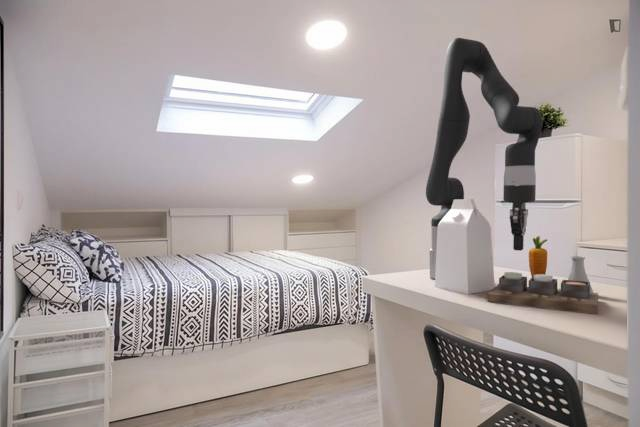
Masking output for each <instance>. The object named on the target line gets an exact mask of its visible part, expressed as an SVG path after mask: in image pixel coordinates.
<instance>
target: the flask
mask: <svg viewBox="0 0 640 427" xmlns="http://www.w3.org/2000/svg"><path fill="white" fill-rule="evenodd" d="M570 259H571V261H572V265H571V270H570V273H569V275H568V277H567V280H574V281H587V282H590V281H589V278H588V276H587V273H586V269H585V262H584V261H585V259H586V257H585V256H583V255H582V256H581V255H572V256H570ZM590 292H593V293H595V292H594V289H593V287H592V285H591V284H590Z"/></svg>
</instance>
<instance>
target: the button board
mask: <svg viewBox="0 0 640 427" xmlns="http://www.w3.org/2000/svg"><path fill="white" fill-rule="evenodd" d="M566 282H580V283H584V284H586V285H576V284H566ZM590 285H591V282H590V281H589V282H587V281H574V280H568V279H562V280H561V283H560V288H559V289H558V279H557V278H553V283H552V282H540V281H534V277H532V276H531V278H530V279H529V280H528V277H527V276H522V280H515V279H504V274H503V275H502V276H501V277H499V278H498V284H497V285H496V286H495V288H494V289H492V290H489V292H488V293H486V295H487V296H486V301H487V302H490V303H498V304H505V305H516V306H525V307H534V308H543V309H550V310H560V311H568V312H577V313H586V314H594V315H598V311H599V308H598V307H599V293H598V292H594V291H593V292H594V293H593V292H590Z"/></svg>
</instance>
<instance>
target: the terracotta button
mask: <svg viewBox="0 0 640 427" xmlns="http://www.w3.org/2000/svg"><path fill="white" fill-rule="evenodd" d="M566 284H576V285H586V284H584V283H580V282H566Z"/></svg>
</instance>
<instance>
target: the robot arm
mask: <svg viewBox="0 0 640 427" xmlns="http://www.w3.org/2000/svg"><path fill="white" fill-rule="evenodd" d="M445 53H446V54H445V59H444V69H443V70H444V72H443V73H444V74H443V88H442V90H443V91H442V96H441V97H442V98H441V103H440V104H441V105H440V106H441V107H440V112H439V117H438V121H437V122H438V123H437V131H436V139H435V144H434V145H435V146H434V151H433V156H432V160H431V161H432V162H431V165H430V170H429V174H428V178H427V181H426V182H427V183H426V187H425V196H426V197H425V198H426V200H427V202H428V203H429V204H430V205H432V206H440V211H439V212H438V213H437V214H436V215H434V216H432V217H431V220H430V222H431V223H430V224H431V248H430V249H429V279H433V280H435V272H436V249H437V228H438V224H439V222H440V221H441V220H442V218H443V217H444V216H445V215H446V214H447V213H448V211H449V210H450V209H451V207H452V204H453V201H454V199H465V189H464V185H463V182H461V180H460V179H459V178H456V177H449V175H450V170H451V166H452V164H453V161H454V159H455V157H456V156H457V154H458V152H460V150H461V148H462V147H463V146H464V144H465V141H467V140H466V139H467V136H468V132H469V126H470V117H471V116H470V109H469V106H468V104H467V101H466V98H465V96H464V92H463V88H462V85H463V84H462V83H463V73H468V74H469V73H472V74H473V75H475V76H476V77H477V78H478V79H479V80H480V82H481V84H480V91H481V95H482V97H483V98H484V100H485V101H486V103H487V104H488V105H489V106H490V108H491V109H492V110H493V113H494V114H493V115H494V118H495V120H496V123H497V126H498V128H499V129H500V130H501V131H502V132H504V133H506V134H508V135H509V134H511V135H518V138H517V141H516V142H515V143H511V144H508V145H507V146H506V147H505V152H504V171H503V172H504V173H503V202H505V203H512V204H511V205H512V206H511V207H512V209H509V222H510V229H511V231H510V232H511V234H512V237H513V243H512V244H513V245H512V246H513V247H512V249H513V250H514V251H523V250H524V241H525V240H524V237H525V235H526V231H527V229H526V228H527V227H528V226H527V225H528V224H527V223H528V216H529V209H527V208H526V204H527V203H535V201H536V191H537V190H536V184H537V182H536V180H537V179H536V178H537V174H536V166H535V165H536V148H537V146H538V143H539V139H540V135H541V133H542V129H543V124H544V121H543V116H542V113H541V111H540V110H539V108H537V107H533V106H522V105H520V106H519V103H520V97H519V94H518V92H517V91H516V90H515V89H514V88H513V86H512V85H511V84H510V83H509V82H508V81H507V80H506V79H505V77H504V76H503V75H502V73H501V72H500V70H499V68H498V67H497V66H498V65H496V63H495V61H494V59H493V58H492V55H491V53H490V50H488V48H487V46H486V45H485V44H484V43H483V42H481V41H480V40H479V41H478V40H474V39H469V38H464V37H456V38H454V39H453V40H451V41H450V43H449V45H448V47H447V49H446V52H445Z"/></svg>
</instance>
